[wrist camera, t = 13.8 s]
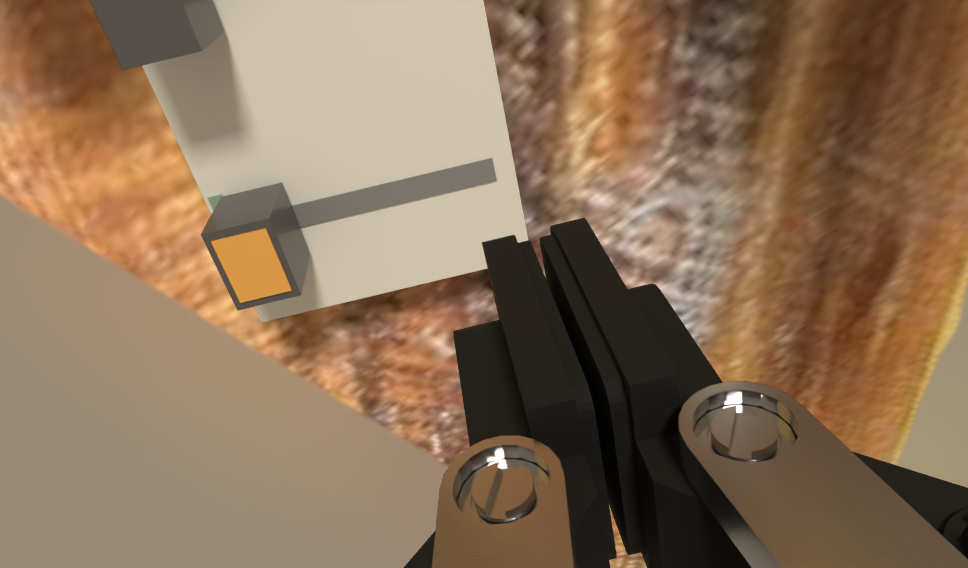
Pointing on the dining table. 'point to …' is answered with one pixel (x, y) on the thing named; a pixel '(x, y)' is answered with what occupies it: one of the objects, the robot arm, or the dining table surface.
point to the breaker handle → (157, 28)
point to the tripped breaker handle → (257, 246)
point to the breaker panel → (354, 135)
